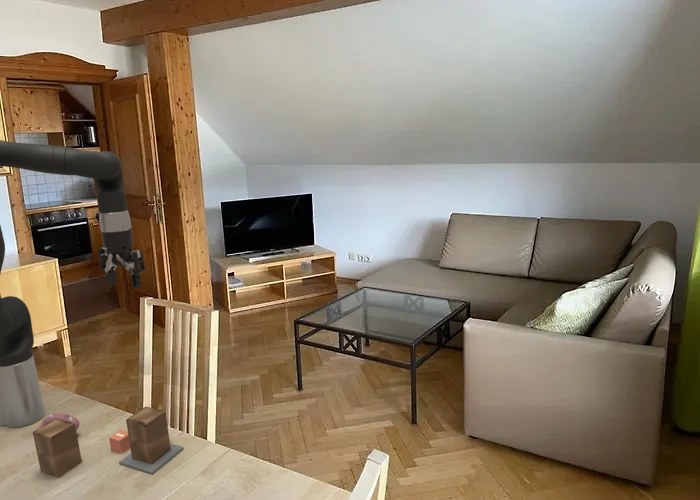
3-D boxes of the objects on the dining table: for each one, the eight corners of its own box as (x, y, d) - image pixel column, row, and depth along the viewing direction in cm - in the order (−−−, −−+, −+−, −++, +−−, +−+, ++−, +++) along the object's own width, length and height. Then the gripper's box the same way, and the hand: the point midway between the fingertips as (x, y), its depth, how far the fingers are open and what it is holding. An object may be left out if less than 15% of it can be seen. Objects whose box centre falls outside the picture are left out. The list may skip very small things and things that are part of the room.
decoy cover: (40, 471, 124) (32, 431, 122) (64, 456, 129) (56, 418, 127) (59, 477, 122) (50, 437, 119) (82, 461, 127) (74, 423, 124)
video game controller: (79, 444, 137) (84, 414, 138) (66, 446, 132) (71, 416, 134) (46, 440, 139) (51, 411, 140) (32, 442, 135) (37, 412, 136)
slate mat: (119, 464, 125) (118, 461, 125) (151, 440, 134) (151, 438, 134) (152, 474, 121) (152, 472, 121) (183, 449, 130) (183, 447, 130)
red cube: (111, 450, 131) (108, 437, 130) (122, 442, 134) (120, 429, 133) (121, 454, 129) (119, 440, 128) (133, 445, 132) (131, 432, 131)
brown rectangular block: (132, 458, 126) (125, 419, 124) (151, 444, 131) (145, 406, 129) (152, 464, 124) (145, 424, 121) (170, 449, 129) (165, 411, 126)
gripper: (85, 229, 145) (94, 288, 149) (124, 232, 139) (133, 293, 143) (108, 223, 152) (116, 280, 156) (146, 226, 146) (154, 284, 150)
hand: (124, 286), depth 149 cm, fingers open, 8 cm apart
